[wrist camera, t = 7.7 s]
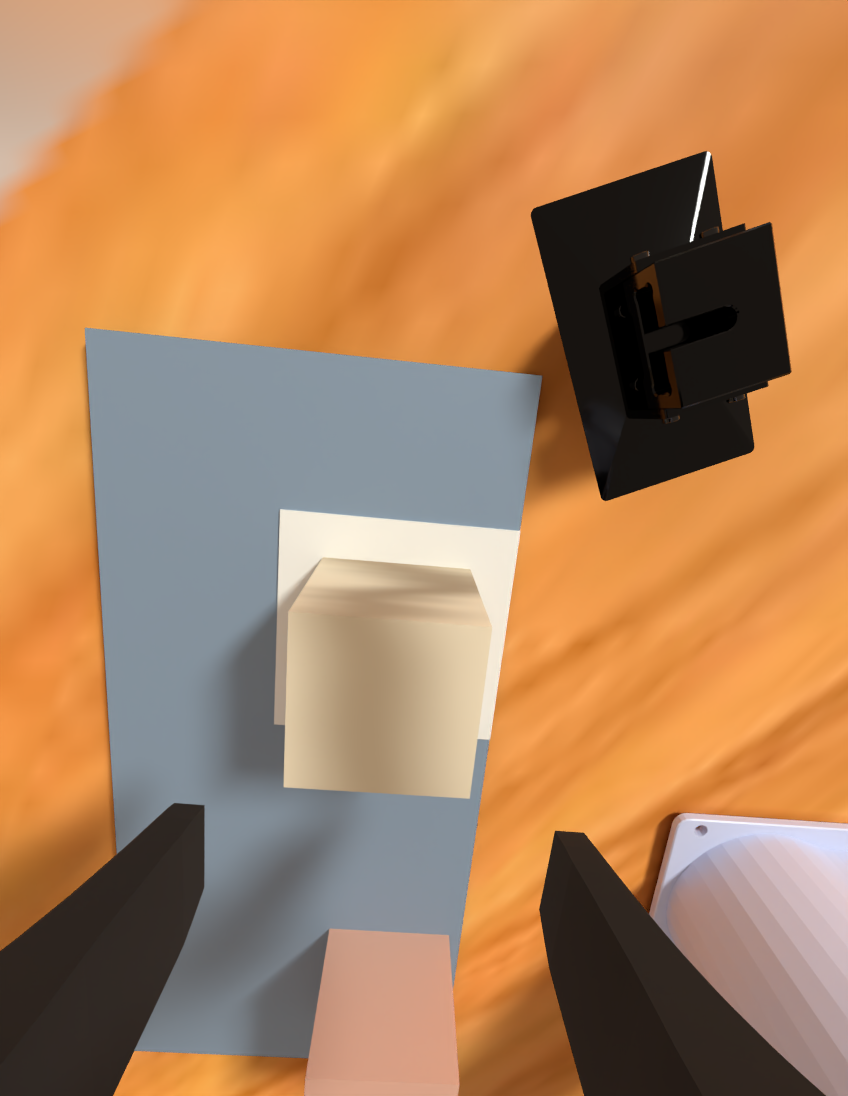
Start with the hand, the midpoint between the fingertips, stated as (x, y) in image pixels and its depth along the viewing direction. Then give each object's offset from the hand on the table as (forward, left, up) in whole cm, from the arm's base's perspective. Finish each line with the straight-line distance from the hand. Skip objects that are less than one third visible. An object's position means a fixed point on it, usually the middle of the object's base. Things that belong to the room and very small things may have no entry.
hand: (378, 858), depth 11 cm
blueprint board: (+3, +5, -9) cm, 10 cm away
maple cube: (0, -1, -8) cm, 8 cm away
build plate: (-7, -12, -10) cm, 17 cm away
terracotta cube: (-1, +15, -8) cm, 17 cm away
